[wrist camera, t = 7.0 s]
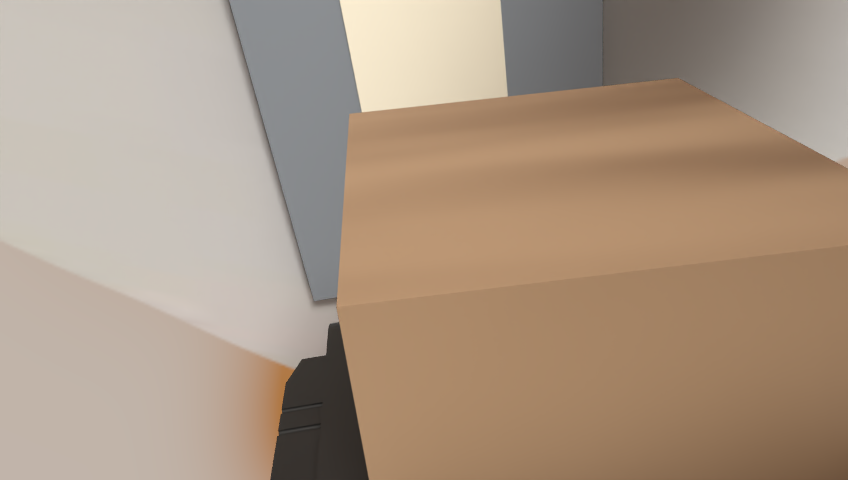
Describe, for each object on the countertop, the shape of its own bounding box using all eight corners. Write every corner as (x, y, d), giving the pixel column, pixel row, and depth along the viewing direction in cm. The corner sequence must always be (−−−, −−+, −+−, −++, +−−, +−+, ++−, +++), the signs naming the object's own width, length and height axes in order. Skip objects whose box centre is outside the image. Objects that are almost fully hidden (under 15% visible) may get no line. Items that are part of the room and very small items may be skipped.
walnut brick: (349, 114, 9) (336, 306, 5) (677, 77, 9) (963, 231, 5) (403, 479, 13) (424, 772, 8) (633, 448, 13) (770, 720, 9)
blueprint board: (196, -137, 21) (188, -140, 20) (593, -202, 21) (604, -207, 20) (315, 289, 30) (313, 302, 29) (595, 242, 30) (603, 253, 29)
